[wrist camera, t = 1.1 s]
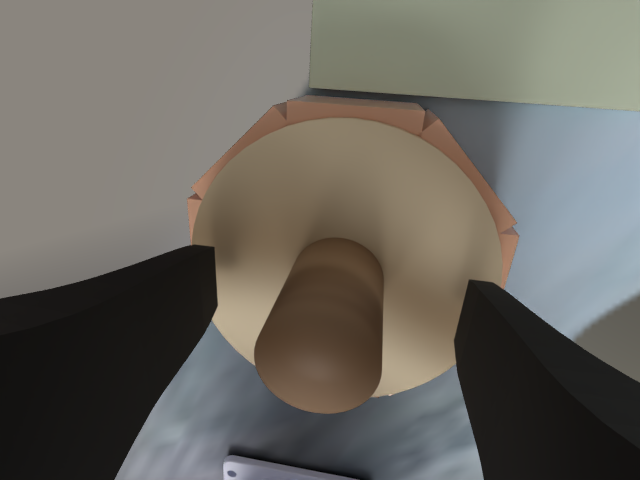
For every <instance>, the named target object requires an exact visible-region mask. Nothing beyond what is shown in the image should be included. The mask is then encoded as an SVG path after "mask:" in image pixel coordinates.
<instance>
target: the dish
mask: <svg viewBox="0 0 640 480" xmlns="http://www.w3.org/2000/svg"><path fill="white" fill-rule="evenodd" d="M328 117H355V118H361V119H368V120H375V121H379V122H382V123H386V124H389V125H393V126H396V127H399V128H401V129H403V130H406V131H408V132H410V133H412V134H415V135H417V136H419V137H421V138H422V139H424V140H425V141H427V142H429V143H430V144H432V145H433V146H435V147H437V148H438V149H439V150H441V151H442V152H443V153H444V154H445V155H446V156H448V157H449V158H450V159H451V160H452V161H453V162H455V163H456V164H457V166H458V167H459V168H460V169H461V170H462V171H463V172H464V173H465V175H466V176H467V177H468V178H469V179H470V180H471V182H472V183H473V184H474V186H475V187H476V189H477V190H478V192H479V193H480V195H481V196H482V198H483V200H484V201H485V203H486V204H487V207H488V209H489V211H490V213H491V216H492V218H493V220H494V222H495V225H496V229H497V232H498V236H499V240H500V244H501V253H502V262H503V267H502V284H501V288H502V289H504V287H505V284H506V280H507V277H508V274H509V270H510V267H511V263H512V260H513V256H514V253H515V250H516V246H517V243H518V239H519V235H518V233H517V232H516V231H515V230H514V228H513V227H512V226H513V225H515V224H516V223H517V222H516V221H515V219H514V218H513V217H512V215H511V214H510V213H509V211H508V210H507V209H506V207H505V206H504V205H503V203H502V202H501V201H500V199H499V198H498V197H497V195H496V194H495V193H494V191H493V190H492V189H491V187H490V186H489V185H488V183H487V182H486V181H485V179H484V178H483V177H482V175H481V174H480V173H479V171H478V170H477V169H476V167H475V166H474V165H473V163H472V162H471V161H470V159H469V158H468V157H467V155H466V154H465V153H464V151H463V150H462V149H461V147H460V146H459V145H458V143H457V142H456V141H455V139H454V138H453V137H452V135H451V134H450V133H449V131H448V130H447V129H446V127H445V126H444V124H443V123H442V122H441V120H440V119H439V118H438V117H437V116H436V115H435V114H433V113H432V112H431V111H430V110H429V109H427V110H426V111H425V110H424V109H423V108H422V107H421V106H420V105H419V104H418V103H411V102H397V101H384V100H370V99H357V98H343V97H330V96H316V95H305V96H302V97H298V98H294V99H291V100H287V102H284V103H280V104H277V105H274V106H273V107H271V108H270V109H269V110H268V111H267V112H266V114H264V115H263V117H261V119H260V120H259V121H257V123H255V124H254V125H253V127H251V128H250V129H249V130H248V131H247V132H246V133H245V135H243V137H241V138H240V139H239V140H238V141H237V142H236V144H234V145H233V146H232V147H231V148H230V149H229V150H228V151H227V152H226V153H225V154H224V155H223V156H222V157H221V158H220V159H219V160H218V161H217V162H216V163H215V164H214V165H213V166H212V167H211V168H210V169H209V170H208V171H207V172H206V173H205V174H204V175H203V176H202V177H201V178H200V179H199V180H198V181H197V182H196V183H195V184H194V185H193V186H192V187H191V188H192V189H193V190H194V191H195V192H196V194H194V195H193V196H191V197H189V198H188V199H187V202H188V214H189V227H190V239H191V245H192V235H193V228H194V223H195V219H196V216H197V212H198V209H199V206H200V204H201V202H202V200H203V198H204V195H205V193H206V191H207V190H208V188H209V186H210V185H211V183H212V182H213V180H214V179H215V177H216V176H217V175H218V173H219V172H220V171H221V170H222V169H223V168H224V167H225V165H226V164H227V163H228V162H229V161H230V160H231V159H232V158H234V157H235V156H236V155H237V154H238V153H240V152H241V151H242V150H243V149H244V148H246V147H247V146H249V145H251V144H252V143H254V142H255V141H257V140H259V139H260V138H262V137H264V136H266V135H268V134H270V133H272V132H274V131H277V130H279V129H281V128H284V127H286V126H288V125H292V124H296V123H299V122H303V121H307V120H312V119H320V118H328ZM391 395H393V394H390V395H389V396H391ZM377 398H379V397H377Z"/></svg>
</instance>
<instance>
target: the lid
mask: <svg viewBox="0 0 640 480" xmlns="http://www.w3.org/2000/svg"><path fill="white" fill-rule="evenodd" d="M194 244H196V245H204V246H212V247H215V263H216V281H217V298H218V307H217V309H216V311H215V313H214V315H213V318H212V321H213V323H214V324H215V326H216V327H217V328H218V330H219V331H220V332H221V334H222V335H223V336H224V338H225V339H226V340H227V341H228V342H229V343H230V344H231V345H232V346H233V347H234V349H235V350H236V351H238V352H239V353H240V354H241V355H242V356H243V357H245V358H246V359H247V360H248V361H249V362H251V363H252V364H253V365H255V366H256V369H257V372H258V374H259V376H260V378H261V380H262V381H263V382H264V384H265V385H266V387H267V388H268V389H269V390H270V391H271V392H272V393H273V394H275V395H276V396H277V397H278V398H280V399H281V400H283V401H284V402H286V403H288V404H289V405H291V406H294V407H296V408H298V409H302V410H305V411H309V412H313V413H322V414H331V413H340V412H345V411H348V410H351V409H353V408H356V407H358V406H360V405H361V404H363V403H364V402H366V401H367V400H368V399H369V398H370V397H379V396H384V395H390V394H395V393H399V392H402V391H405V390H409V389H412V388H415V387H417V386H419V385H422V384H424V383H426V382H429V381H431V380H432V379H434V378H436V377H437V376H439V375H441V374H443V373H444V372H446V371H447V370H448V369H450V368H451V367H452V366H454V365H455V364H456V358H455V348H454V337H455V333H456V329H457V325H458V321H459V317H460V313H461V309H462V305H463V301H464V297H465V293H466V289H467V285H468V281H469V279H472V280H480V281H487V282H493V283H495V284H496V285H498V286H499V287H501V284H502V267H503V262H502V253H501V244H500V240H499V236H498V232H497V229H496V225H495V222H494V220H493V218H492V216H491V213H490V211H489V209H488V207H487V204H486V203H485V201H484V200H483V198H482V196H481V195H480V193H479V192H478V190H477V189H476V187H475V186H474V184H473V183H472V182H471V180H470V179H469V178H468V177H467V176H466V175H465V173H464V172H463V171H462V170H461V169H460V168H459V167H458V166H457V164H456V163H455V162H453V161H452V160H451V159H450V158H449V157H448V156H446V155H445V154H444V153H443V152H442V151H441V150H439V149H438V148H437V147H435V146H433V145H432V144H430V143H429V142H427V141H425V140H424V139H422V138H421V137H419V136H417V135H415V134H412V133H410V132H408V131H406V130H403V129H401V128H399V127H396V126H393V125H389V124H386V123H382V122H379V121H375V120H368V119H361V118H355V117H328V118H320V119H312V120H307V121H303V122H299V123H296V124H292V125H288V126H286V127H284V128H281V129H279V130H277V131H274V132H272V133H270V134H268V135H266V136H264V137H262V138H260V139H259V140H257V141H255V142H254V143H252V144H251V145H249V146H247V147H246V148H244V149H243V150H242V151H241V152H240V153H238V154H237V155H236V156H235V157H234V158H232V159H231V160H230V161H229V162H228V163H227V164H226V165H225V167H224V168H223V169H222V170H221V171H220V172H219V173H218V175H217V176H216V177H215V179H214V180H213V182H212V183H211V185H210V186H209V188H208V190H207V191H206V193H205V195H204V198H203V200H202V202H201V204H200V206H199V209H198V212H197V216H196V219H195V223H194V228H193V235H192V245H194Z"/></svg>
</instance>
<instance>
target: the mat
mask: <svg viewBox="0 0 640 480" xmlns="http://www.w3.org/2000/svg"><path fill="white" fill-rule="evenodd" d="M309 88H321V89H335V90H349V91H363V92H377V93H390V94H404V95H418V96H432V97H446V98H460V99H474V100H488V101H502V102H516V103H530V104H544V105H558V106H572V107H586V108H600V109H614V110H628V111H640V0H313V5H312V28H311V50H310V72H309Z"/></svg>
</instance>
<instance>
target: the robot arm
mask: <svg viewBox="0 0 640 480" xmlns="http://www.w3.org/2000/svg"><path fill="white" fill-rule="evenodd" d="M217 307H218V298H217V281H216V263H215V247H212V246H204V245H196V244H194V245H190V246H185V247H182V248H179V249H176V250H173V251H170V252H167V253H164V254H162V255H159V256H156V257H153V258H151V259H148V260H145V261H142V262H139V263H137V264H134V265H131V266H128V267H125V268H122V269H119V270H116V271H113V272H110V273H107V274H104V275H100V276H98V277H94V278H91V279H88V280H84V281H80V282H76V283H73V284H69V285H65V286H61V287H56V288H53V289H48V290H43V291H38V292H33V293H28V294H22V295H18V296H12V297H6V298H1V299H0V480H114V479H115V477H116V475H117V473H118V471H119V470H120V468H121V466H122V464H123V462H124V460H125V458H126V456H127V454H128V452H129V450H130V448H131V447H132V445H133V443H134V441H135V439H136V437H137V436H138V434H139V432H140V430H141V428H142V427H143V425H144V423H145V421H146V419H147V418H148V416H149V414H150V412H151V411H152V409H153V407H154V406H155V404H156V403H157V401H158V400H159V398H160V396H161V395H162V393H163V392H164V391H165V389H166V388H167V386H168V385H169V383H170V382H171V381H172V379H173V378H174V376H175V375H176V374H177V372H178V371H179V369H180V368H181V366H182V365H183V364H184V362H185V361H186V359H187V358H188V357H189V355H190V354H191V352H192V351H193V349H194V348H195V347H196V345H197V344H198V342H199V341H200V339H201V338H202V336H203V335H204V333H205V331H206V329H207V327H208V326H209V324H210V322H211V320H212V318H213V315H214V313H215V311H216V309H217ZM454 348H455V358H456V366H457V373H458V377H459V381H460V385H461V389H462V393H463V397H464V401H465V404H466V408H467V412H468V415H469V419H470V423H471V427H472V430H473V434H474V438H475V441H476V445H477V449H478V453H479V457H480V462H481V466H482V471H483V477H484V480H640V383H639V382H637V381H635V380H634V379H632V378H630V377H629V376H627V375H625V374H623V373H622V372H620V371H618V370H617V369H615V368H613V367H612V366H610V365H608V364H606V363H605V362H603V361H602V360H600V359H598V358H597V357H595V356H594V355H592V354H590V353H589V352H587V351H586V350H584V349H583V348H582V347H580V346H579V345H577V344H576V343H574V342H573V341H571V340H570V339H568V338H567V337H566V336H564V335H563V334H561V333H560V332H559V331H557V330H556V329H554V328H553V327H552V326H550V325H549V324H548V323H546V322H545V321H544V320H542V319H541V318H540V317H538V316H537V315H536V314H535V313H533V312H532V311H531V310H529V309H528V308H527V307H526V306H524V305H523V304H522V303H520V302H519V301H518V300H517V299H515V298H514V297H513V296H512V295H510V294H509V293H508V292H506V291H505V290H504V289H502V288H501V287H499V286H498V285H496V284H495V283H493V282H487V281H480V280H472V279H469V281H468V285H467V289H466V293H465V297H464V301H463V305H462V309H461V313H460V317H459V321H458V325H457V329H456V333H455V337H454ZM223 473H224V480H358V479H353V478H348V477H343V476H338V475H333V474H328V473H322V472H317V471H312V470H307V469H302V468H297V467H292V466H287V465H281V464H276V463H271V462H266V461H261V460H256V459H251V458H246V457H240V456H235V455H229V456H227V457H226V458H225V460H224V463H223Z"/></svg>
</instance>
